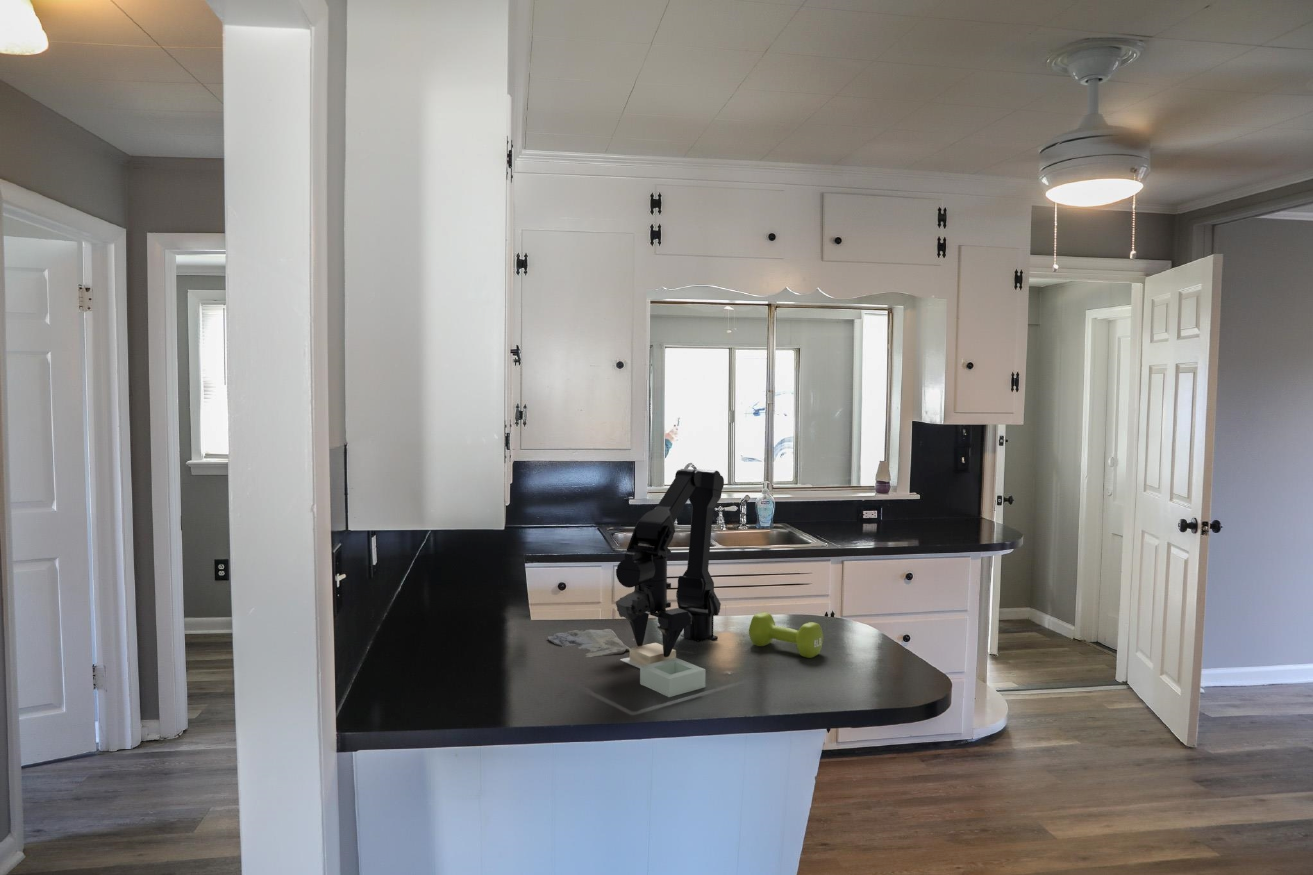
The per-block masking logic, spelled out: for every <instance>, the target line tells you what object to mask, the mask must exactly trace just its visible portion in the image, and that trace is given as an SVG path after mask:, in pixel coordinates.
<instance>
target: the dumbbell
mask: <svg viewBox="0 0 1313 875" xmlns="http://www.w3.org/2000/svg"><path fill="white" fill-rule="evenodd" d="M748 636H749V638H750V641H751V643H752V645H754V646H756V647H765V646H767V645H769V644H771V643H772V642H773V640H776V641H780V642H786V643H790V644H795V645H796V648H797V651H798V652H799V655H800V656H802V657H803V658H806V659H807V658H808V659H812V658H814V657H816V656H818V655H819V654H820V652H821V650H822V646H823V643H824V633H823V629H822V627H821V625H820V624H819V623H817V622H813V621H811V622H810V621H809V622H805V623H804V624H802V625H801V626H800V627H799V630H797V629H794V628H790V627H785V626H781V625H780V626H779V625H776V622H775V620H774V617H773V615H771V613H768V612H764V611H763V612H759V613H756V614H754V615H753V616H752V618H751V621H750V624H749V627H748Z"/></svg>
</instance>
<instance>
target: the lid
mask: <svg viewBox="0 0 1313 875" xmlns="http://www.w3.org/2000/svg"><path fill="white" fill-rule="evenodd" d="M629 648H630V647H629ZM629 657H630V660H631V661H633V662H635V663H638V664H640V665H642V666H644V665H648V664H652V663H657V662H661V661H665V660H669V659H673V658H677V650H676V649H674V648H673V649H672V651H671V653H670V655H669V657H664V653H663V644H660V643H658V642H652V643H648V644H643V645H642V646H635V647H631V648H630V650H629Z"/></svg>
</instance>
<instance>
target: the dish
mask: <svg viewBox="0 0 1313 875" xmlns="http://www.w3.org/2000/svg"><path fill="white" fill-rule="evenodd" d="M639 669H640V670H639V684H640V685H641V686H644V687H646V688H649V689H650V690H653V691H655V692H657V693H658V694H659V693H660V694H661V695H663V696H666V697H667V698H671V697H674V696H678V695H682V694H685V693H689V692H693V691H696V690H701V689H703V688H706V671H707V670H706V669H705V668H704V667H700V666H698V665H696V664H693V663H691V662H687V661H685V660H683V659H680V658H677V657H676V658H673V659H669V660H665V661H661V662H657V663H652V664H648V665H644V666H640V668H639Z"/></svg>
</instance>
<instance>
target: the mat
mask: <svg viewBox="0 0 1313 875" xmlns="http://www.w3.org/2000/svg"><path fill="white" fill-rule="evenodd" d="M619 661H622V662H623V663H626V664H629V665H630V666H633V667H636V668H638V669H640V666H642V665H640V664H638V663H635V662H633V661H631V660H630V656H629V657H625V658H624V657H623V658H621V659H619Z"/></svg>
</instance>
